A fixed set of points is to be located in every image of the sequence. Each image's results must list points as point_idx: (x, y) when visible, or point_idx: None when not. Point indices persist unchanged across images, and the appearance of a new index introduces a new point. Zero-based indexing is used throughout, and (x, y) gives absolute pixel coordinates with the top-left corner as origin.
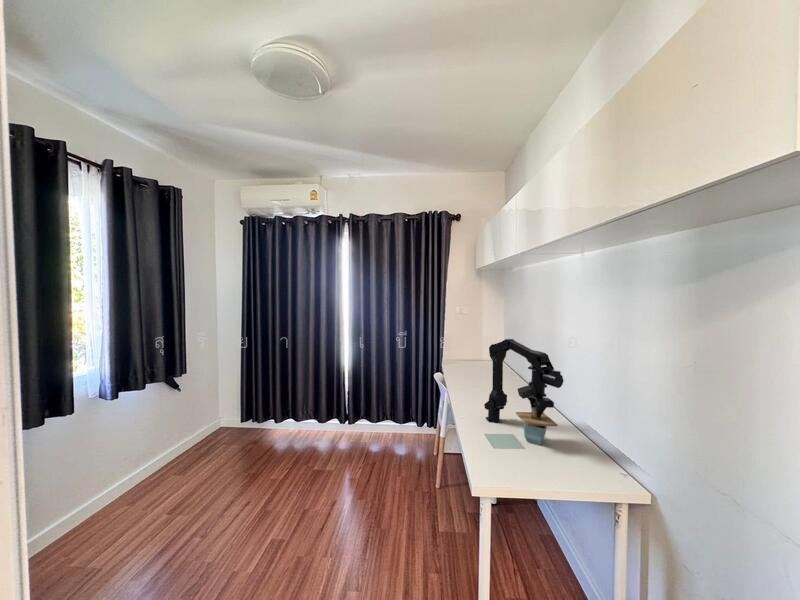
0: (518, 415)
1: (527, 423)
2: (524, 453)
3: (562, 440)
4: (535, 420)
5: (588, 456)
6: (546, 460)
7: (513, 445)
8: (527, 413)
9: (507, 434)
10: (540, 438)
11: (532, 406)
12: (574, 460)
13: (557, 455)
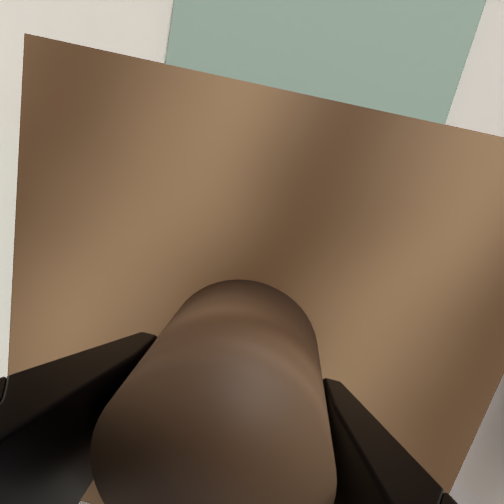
0: (446, 127)
1: (41, 40)
2: (115, 46)
3: None
4: (150, 277)
5: None
6: (10, 156)
7: (231, 12)
8: (450, 342)
9: (443, 88)
10: None
11: (364, 492)
12: (5, 339)
13: None
